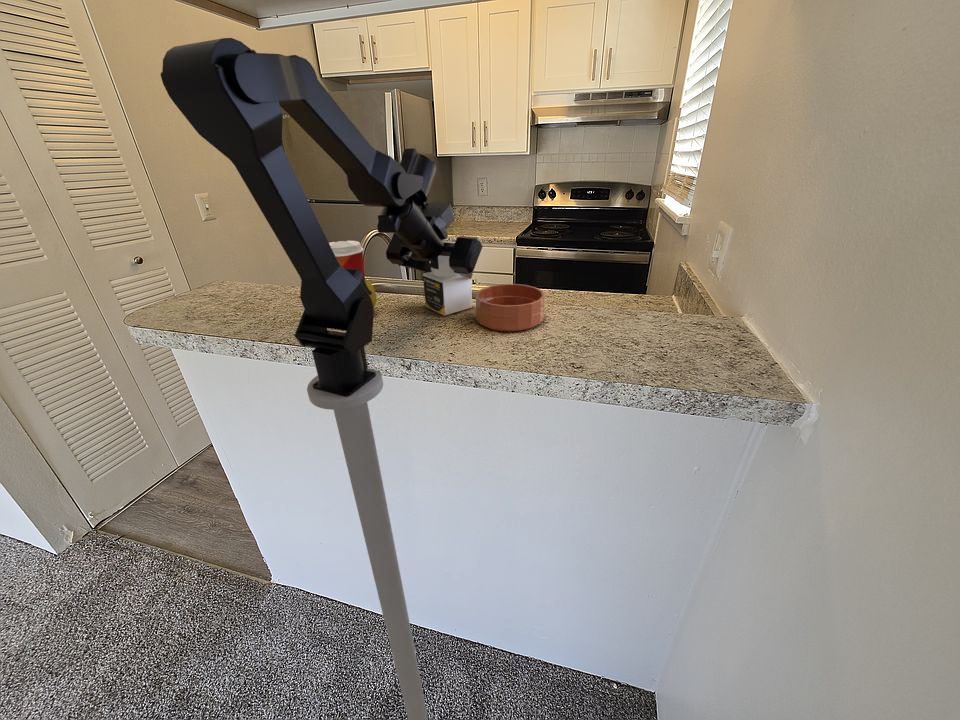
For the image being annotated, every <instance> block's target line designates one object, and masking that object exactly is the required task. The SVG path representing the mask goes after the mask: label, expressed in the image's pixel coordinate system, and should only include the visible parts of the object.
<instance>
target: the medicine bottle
mask: <svg viewBox="0 0 960 720" xmlns="http://www.w3.org/2000/svg"><path fill="white" fill-rule="evenodd" d="M449 257H450V256H441V255H439V256H438V257H436V260H435V262H430V263H431V271H432V272H428V273H427V272H423V274H422V282H423V292H424V293H423V294H424V302H425V307H426V308H427V309H430V310H431V311H434V312H436V313H437V314H441V315H442V316H448V315H452V314H455V313H458V312H461V311H465V310H467V309H468V310H469V309H472V308H473V290H472V289H473V288H472V285H473V284H472V278H471V279H468V278H466V277H463V276H461V275H459V274H456V273H454V270H452V269H451V268H450V266H449Z"/></svg>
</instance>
